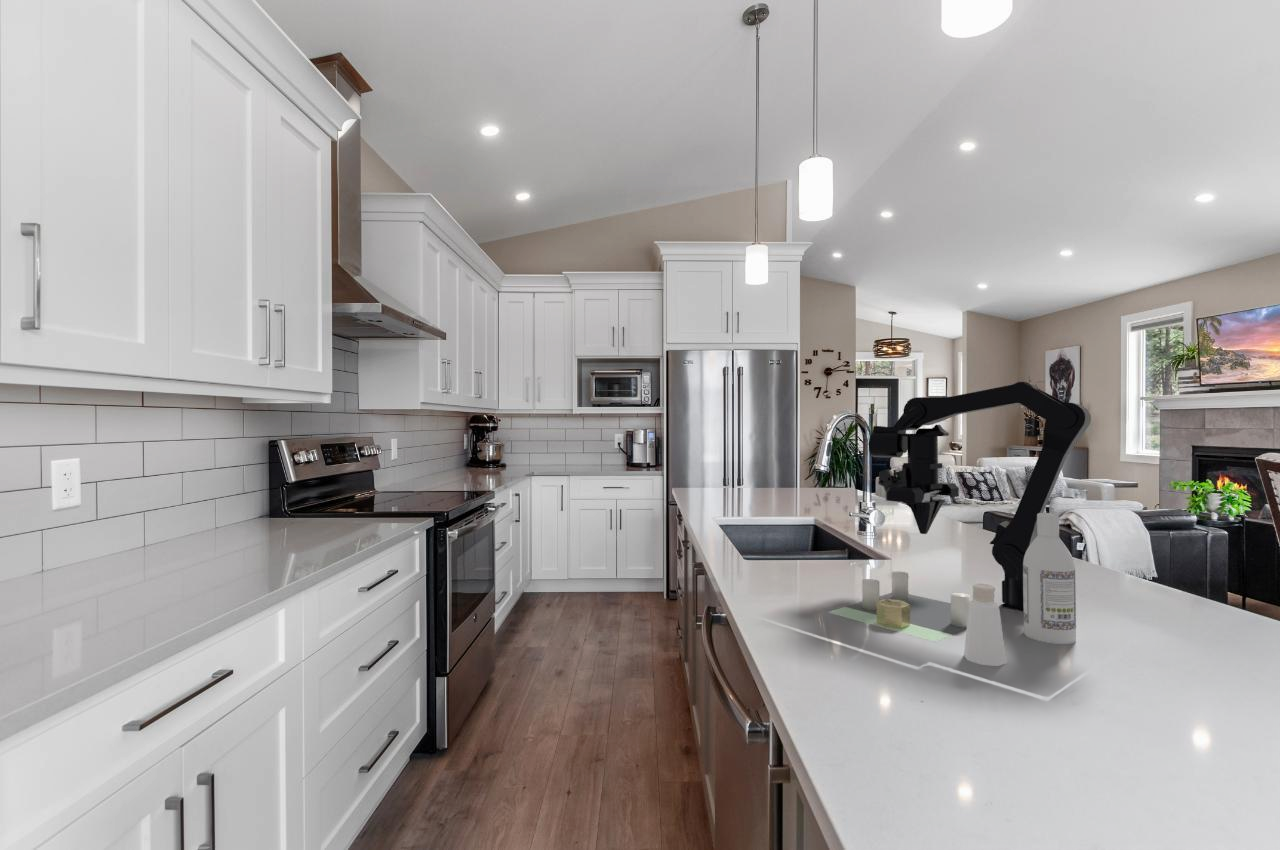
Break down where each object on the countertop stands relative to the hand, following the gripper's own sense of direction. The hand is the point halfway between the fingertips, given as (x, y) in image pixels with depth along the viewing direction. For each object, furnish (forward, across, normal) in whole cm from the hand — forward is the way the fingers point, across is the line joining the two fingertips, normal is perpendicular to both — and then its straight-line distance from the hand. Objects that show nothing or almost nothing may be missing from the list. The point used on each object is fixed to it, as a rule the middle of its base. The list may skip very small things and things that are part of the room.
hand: (923, 533), depth 127 cm
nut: (+12, +25, +8) cm, 29 cm away
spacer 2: (+12, +10, 0) cm, 15 cm away
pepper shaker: (+12, +30, +25) cm, 41 cm away
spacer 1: (+12, +20, 0) cm, 23 cm away
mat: (+12, +17, +7) cm, 22 cm away
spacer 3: (+12, +17, +16) cm, 26 cm away
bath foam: (+12, +12, +27) cm, 32 cm away
